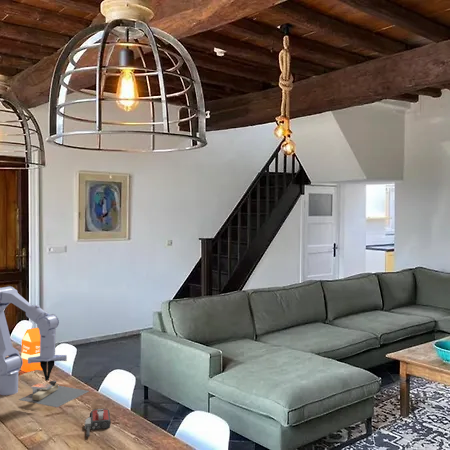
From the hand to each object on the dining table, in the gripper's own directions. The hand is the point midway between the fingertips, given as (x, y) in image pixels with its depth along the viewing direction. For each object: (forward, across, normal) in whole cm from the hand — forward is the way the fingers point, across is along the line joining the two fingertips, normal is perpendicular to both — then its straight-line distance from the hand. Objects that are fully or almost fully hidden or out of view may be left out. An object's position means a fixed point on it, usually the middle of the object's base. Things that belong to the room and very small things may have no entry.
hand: (47, 379), depth 200 cm
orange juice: (+9, -6, +45) cm, 46 cm away
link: (+7, 0, +4) cm, 8 cm away
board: (+8, +3, +3) cm, 9 cm away
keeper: (+7, -2, +6) cm, 10 cm away
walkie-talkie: (+9, +17, -30) cm, 36 cm away
